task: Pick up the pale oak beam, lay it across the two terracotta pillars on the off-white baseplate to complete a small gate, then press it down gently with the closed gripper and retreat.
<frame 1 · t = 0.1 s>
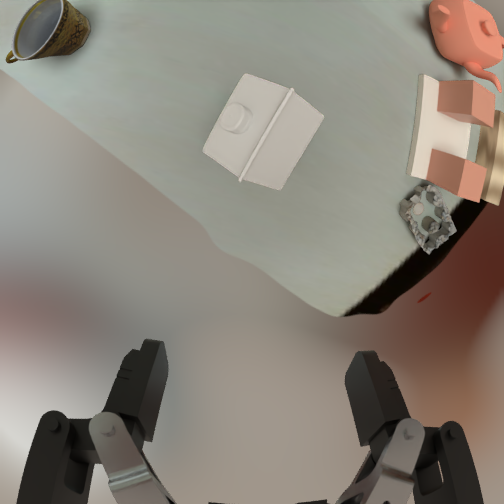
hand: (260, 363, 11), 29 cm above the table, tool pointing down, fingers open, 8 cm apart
milk carton: (258, 126, 33), on the table
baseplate: (440, 133, 32), on the table
ceramic cup: (67, 41, 24), on the table
egg carton: (422, 214, 38), on the table
oak beam: (483, 152, 32), on the table
teapot: (442, 34, 23), on the table
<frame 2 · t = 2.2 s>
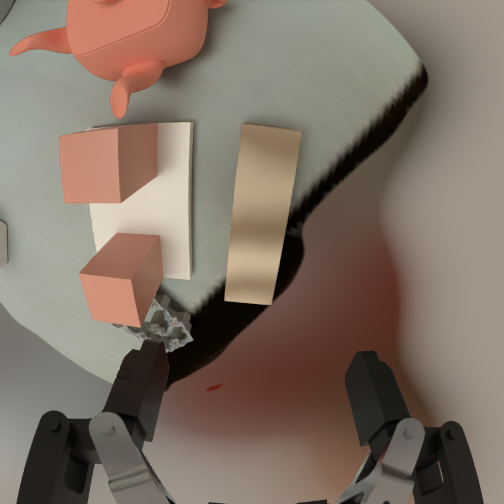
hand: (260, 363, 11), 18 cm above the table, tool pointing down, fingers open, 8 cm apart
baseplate: (140, 201, 26), on the table
egg carton: (153, 306, 33), on the table
oak beam: (257, 206, 27), on the table
teapot: (143, 30, 18), on the table
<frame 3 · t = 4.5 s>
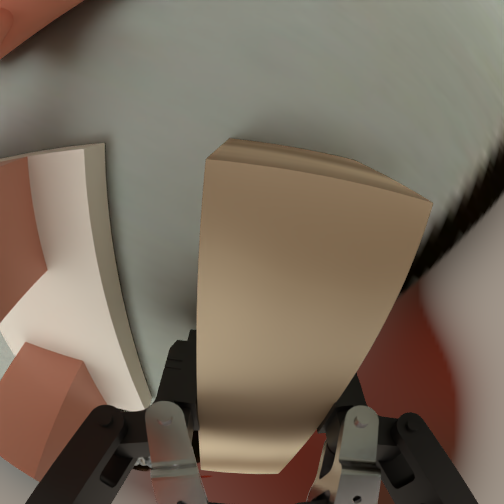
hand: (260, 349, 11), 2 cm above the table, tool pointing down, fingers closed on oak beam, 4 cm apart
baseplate: (46, 296, 12), on the table
oak beam: (260, 325, 13), on the table, touching gripper
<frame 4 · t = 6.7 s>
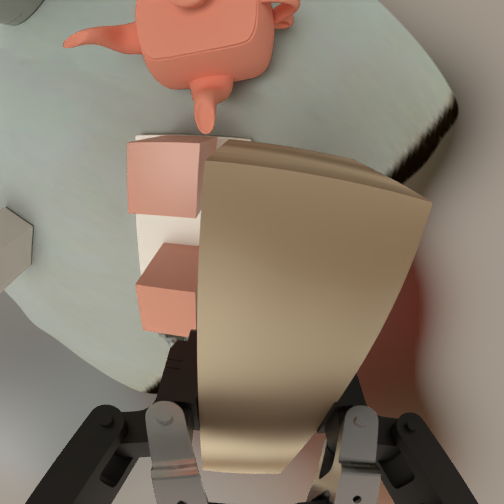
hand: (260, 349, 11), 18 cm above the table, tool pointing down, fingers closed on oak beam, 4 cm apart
milk carton: (18, 235, 29), on the table
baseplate: (190, 212, 28), on the table
oak beam: (261, 325, 13), point 17 cm above the table, touching gripper
teapot: (200, 39, 20), on the table
when the fingers open (12 cm above the table, at t = 8.9 s): oak beam stays where it is, resting on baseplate.
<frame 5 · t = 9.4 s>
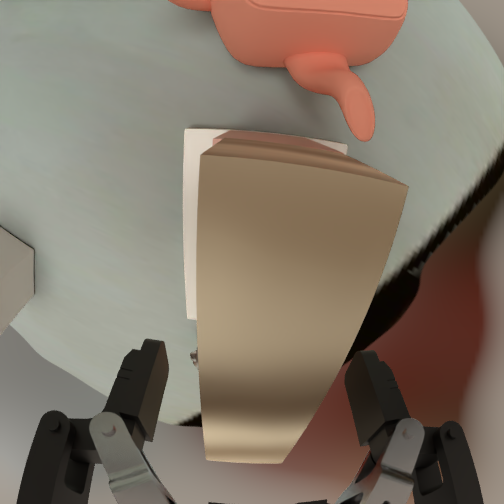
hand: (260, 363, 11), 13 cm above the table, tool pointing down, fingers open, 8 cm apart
milk carton: (16, 258, 23), on the table
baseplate: (256, 235, 22), on the table
oak beam: (260, 314, 13), point 9 cm above the table, touching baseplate
teapot: (272, 8, 13), on the table
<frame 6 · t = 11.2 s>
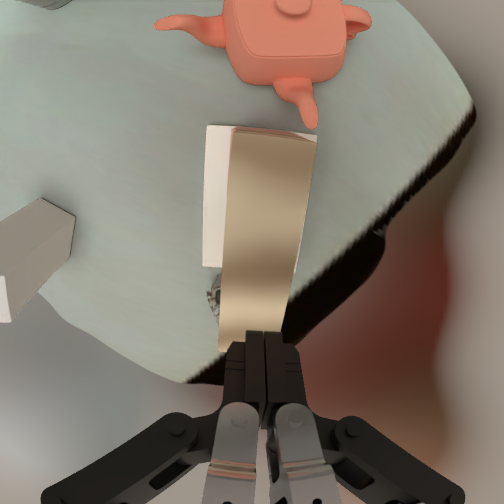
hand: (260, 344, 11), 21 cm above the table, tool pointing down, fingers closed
milk carton: (55, 227, 31), on the table
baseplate: (255, 200, 30), on the table
egg carton: (245, 300, 37), on the table
oak beam: (257, 235, 22), point 9 cm above the table, touching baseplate
teapot: (266, 40, 22), on the table
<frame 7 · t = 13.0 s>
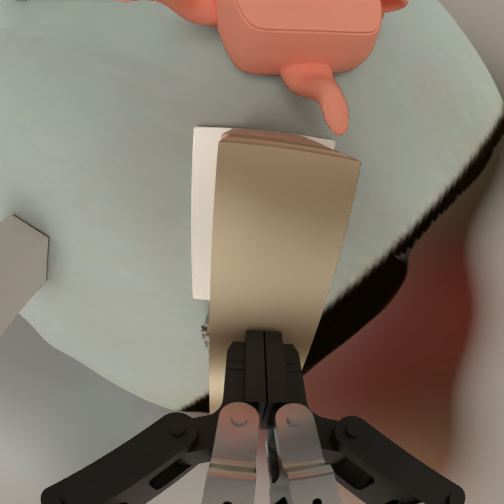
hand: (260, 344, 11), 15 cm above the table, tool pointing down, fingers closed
milk carton: (29, 247, 26), on the table
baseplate: (256, 220, 24), on the table
oak beam: (258, 280, 16), point 9 cm above the table, touching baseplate, gripper
teapot: (269, 20, 16), on the table
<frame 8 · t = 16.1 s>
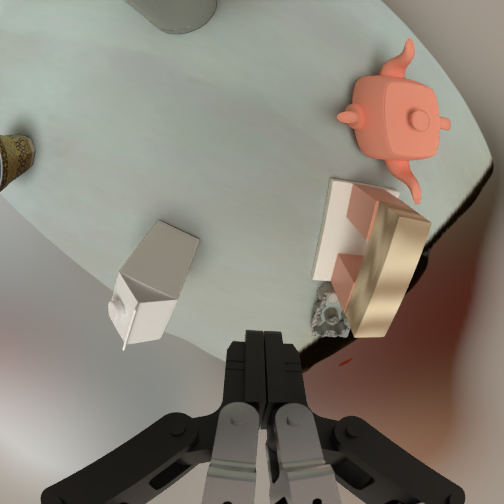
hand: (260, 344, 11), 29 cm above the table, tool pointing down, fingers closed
milk carton: (172, 247, 42), on the table
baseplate: (353, 233, 41), on the table
ceramic cup: (20, 157, 33), on the table
egg carton: (332, 303, 48), on the table
oak beam: (377, 263, 32), point 9 cm above the table, touching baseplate
teapot: (371, 116, 32), on the table
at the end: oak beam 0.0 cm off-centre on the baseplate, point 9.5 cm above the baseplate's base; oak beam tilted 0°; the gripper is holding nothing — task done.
